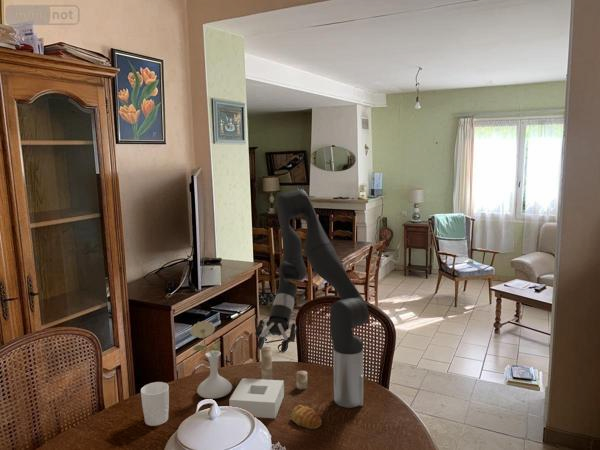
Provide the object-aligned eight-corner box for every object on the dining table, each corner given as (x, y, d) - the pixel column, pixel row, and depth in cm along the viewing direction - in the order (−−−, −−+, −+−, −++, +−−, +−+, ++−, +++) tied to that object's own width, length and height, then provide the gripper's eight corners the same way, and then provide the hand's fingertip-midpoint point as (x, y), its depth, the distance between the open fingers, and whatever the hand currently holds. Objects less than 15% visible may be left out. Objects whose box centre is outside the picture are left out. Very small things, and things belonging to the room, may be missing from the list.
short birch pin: (307, 384, 155) (307, 370, 155) (306, 389, 151) (306, 375, 151) (297, 384, 155) (297, 370, 155) (296, 389, 152) (296, 374, 151)
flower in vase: (235, 385, 156) (232, 314, 152) (228, 402, 144) (225, 326, 141) (197, 385, 156) (193, 315, 153) (188, 402, 145) (184, 327, 142)
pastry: (327, 423, 132) (327, 411, 131) (312, 434, 127) (311, 421, 126) (303, 412, 138) (303, 400, 138) (288, 421, 133) (287, 409, 133)
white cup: (145, 430, 130) (142, 397, 129) (140, 417, 137) (138, 385, 136) (173, 422, 133) (171, 390, 132) (167, 410, 140) (165, 379, 139)
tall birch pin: (273, 382, 157) (272, 347, 155) (271, 387, 153) (270, 351, 152) (263, 382, 157) (262, 346, 156) (260, 387, 154) (259, 350, 152)
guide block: (284, 395, 148) (283, 380, 148) (275, 418, 135) (274, 402, 134) (242, 392, 151) (242, 378, 150) (229, 415, 137) (229, 399, 136)
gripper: (261, 302, 166) (248, 343, 157) (298, 305, 162) (287, 348, 153) (267, 311, 172) (255, 352, 163) (303, 315, 167) (293, 357, 158)
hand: (271, 350), depth 158 cm, fingers open, 8 cm apart
